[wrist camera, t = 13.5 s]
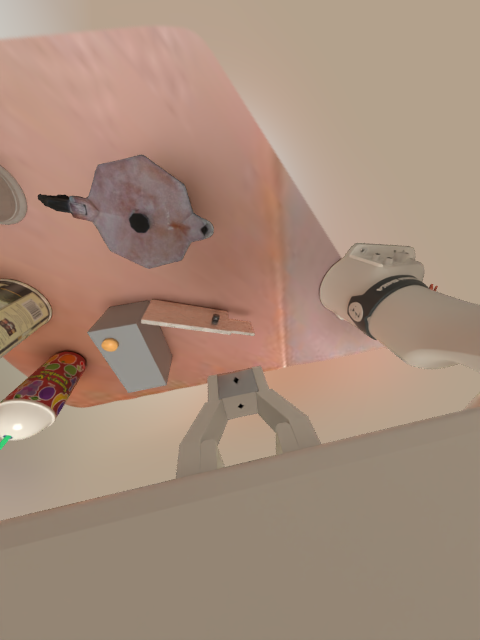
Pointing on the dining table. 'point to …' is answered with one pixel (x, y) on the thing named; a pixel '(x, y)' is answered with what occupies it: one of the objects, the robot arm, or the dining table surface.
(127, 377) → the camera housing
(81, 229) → the dining table surface
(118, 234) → the moka pot
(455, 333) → the robot arm
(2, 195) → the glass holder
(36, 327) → the coffee can
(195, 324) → the side door
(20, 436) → the smoothie
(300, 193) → the dining table surface
